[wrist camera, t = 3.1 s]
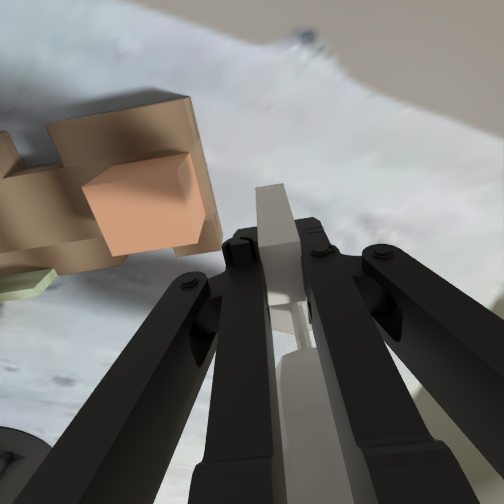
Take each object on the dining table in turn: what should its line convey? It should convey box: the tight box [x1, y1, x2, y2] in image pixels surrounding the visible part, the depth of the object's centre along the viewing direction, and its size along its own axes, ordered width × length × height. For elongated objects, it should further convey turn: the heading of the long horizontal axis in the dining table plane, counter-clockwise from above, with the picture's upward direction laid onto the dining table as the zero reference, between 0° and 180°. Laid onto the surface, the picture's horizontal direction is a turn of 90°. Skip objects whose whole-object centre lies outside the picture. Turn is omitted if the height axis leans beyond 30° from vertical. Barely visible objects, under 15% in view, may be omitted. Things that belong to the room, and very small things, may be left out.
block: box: [82, 153, 206, 256], centre depth 22 cm, size 6×5×5 cm
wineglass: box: [269, 298, 354, 504], centre depth 25 cm, size 9×9×21 cm
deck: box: [0, 97, 223, 302], centre depth 25 cm, size 23×12×6 cm, turn 99°
